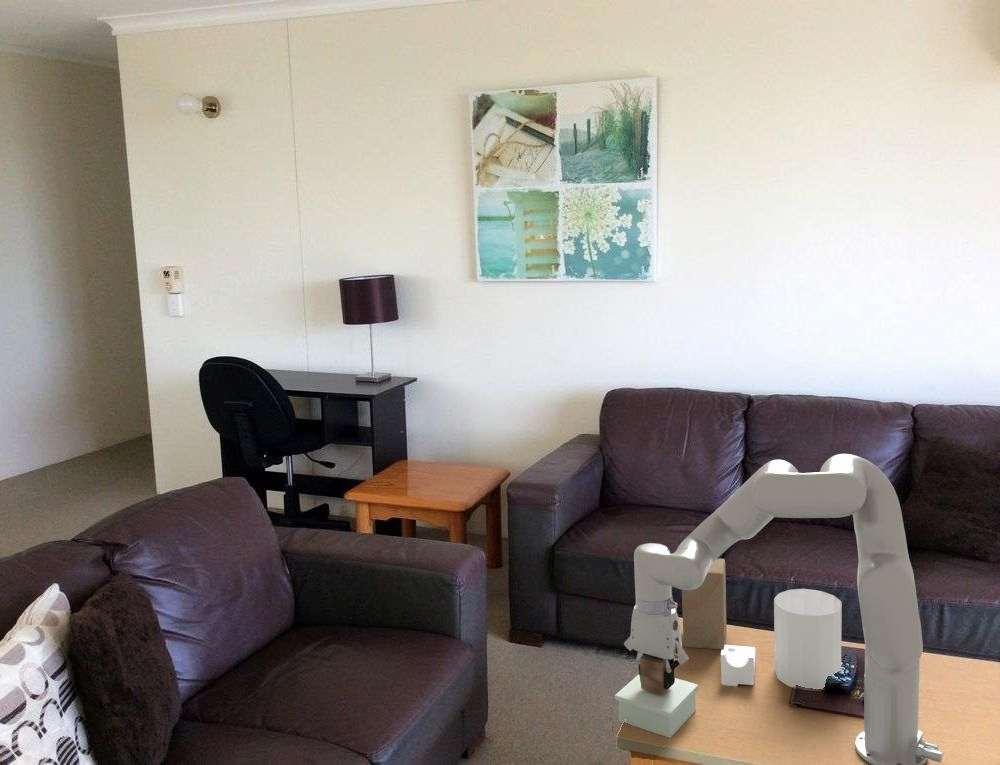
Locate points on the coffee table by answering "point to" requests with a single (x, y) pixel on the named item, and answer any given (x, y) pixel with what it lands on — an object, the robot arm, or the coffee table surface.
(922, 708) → the coffee table surface
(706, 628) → the wooden block
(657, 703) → the sage box
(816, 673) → the container
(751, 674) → the bracket
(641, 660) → the walnut block
